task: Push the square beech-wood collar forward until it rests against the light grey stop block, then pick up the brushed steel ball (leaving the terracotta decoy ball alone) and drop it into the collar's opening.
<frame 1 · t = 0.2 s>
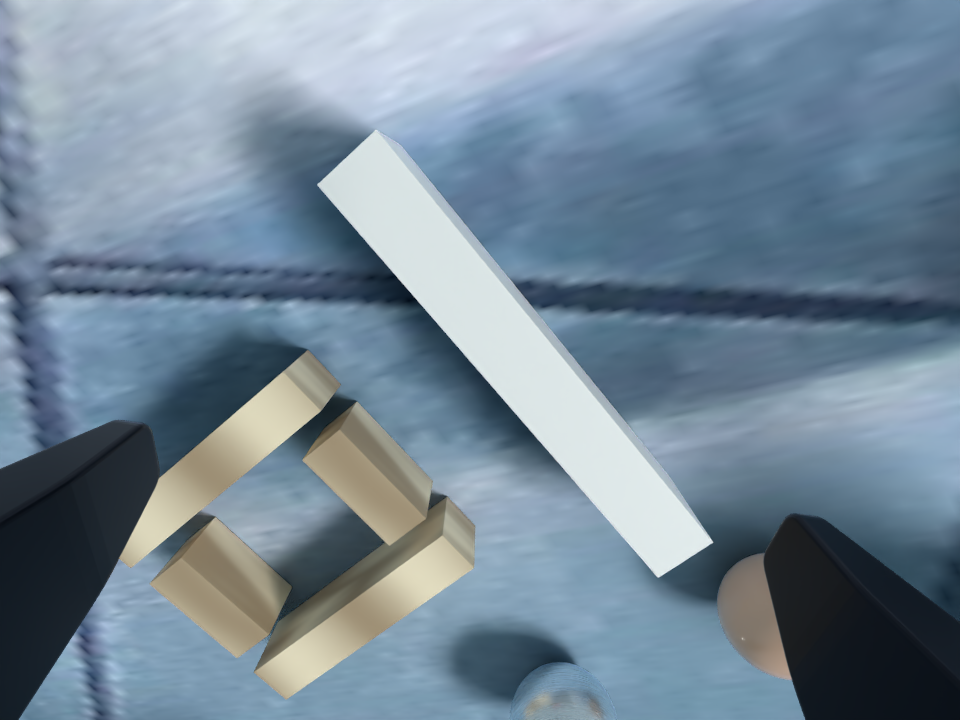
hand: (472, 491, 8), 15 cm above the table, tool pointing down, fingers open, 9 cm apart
beech collar: (307, 511, 25), on the table
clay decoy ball: (779, 613, 24), point 2 cm above the table
stop block: (523, 342, 23), on the table
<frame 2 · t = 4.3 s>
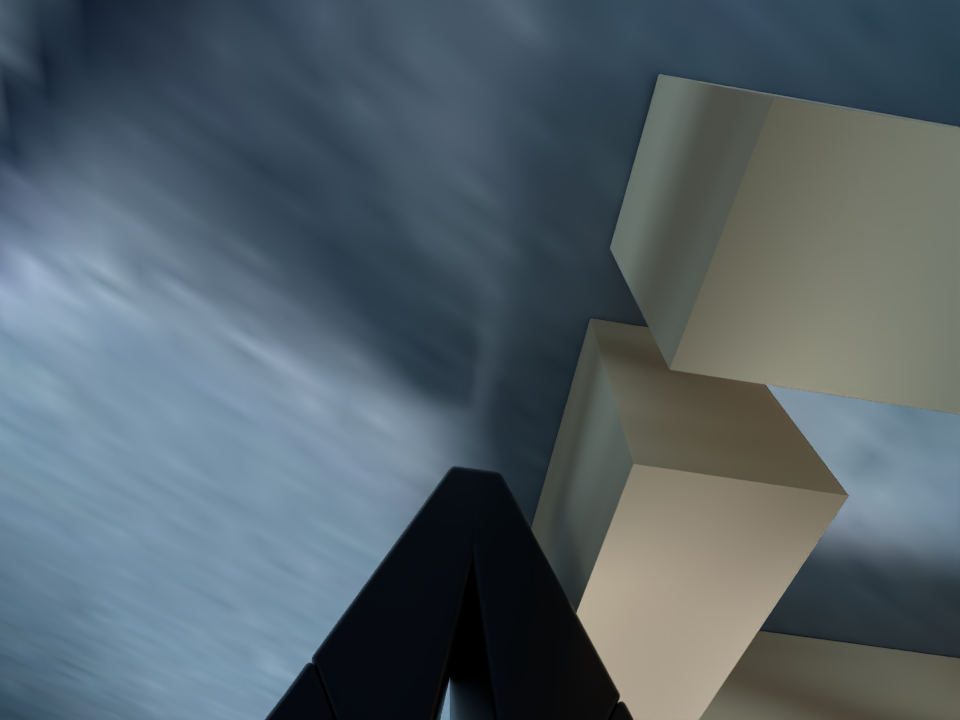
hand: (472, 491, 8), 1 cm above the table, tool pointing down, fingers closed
beech collar: (881, 506, 9), on the table, touching gripper
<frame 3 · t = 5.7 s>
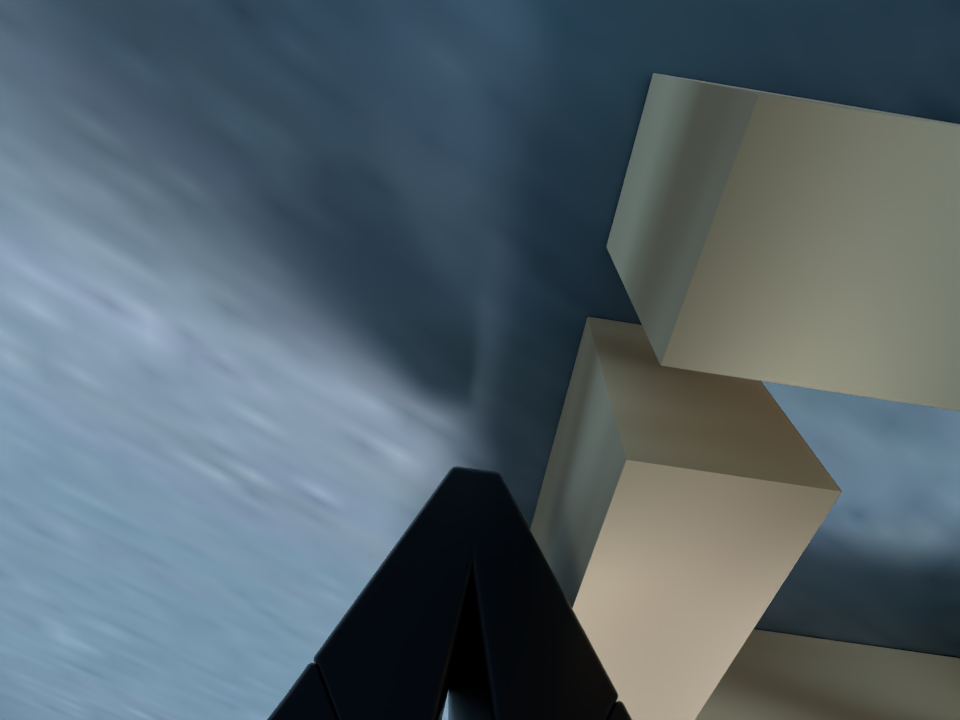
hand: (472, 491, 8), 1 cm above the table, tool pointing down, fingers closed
beech collar: (882, 505, 9), on the table, touching gripper
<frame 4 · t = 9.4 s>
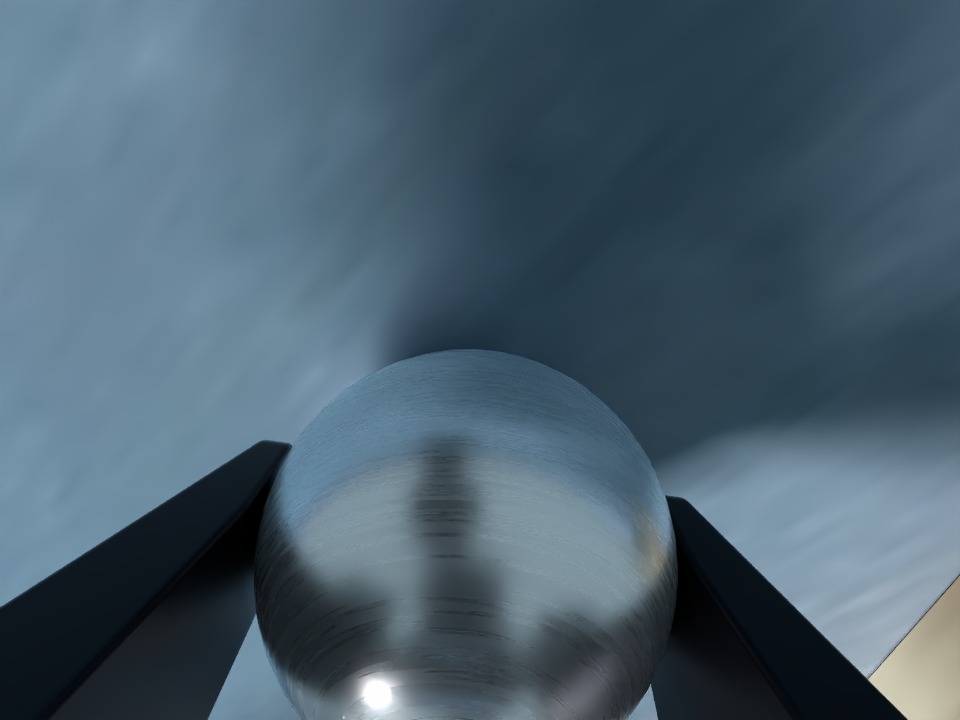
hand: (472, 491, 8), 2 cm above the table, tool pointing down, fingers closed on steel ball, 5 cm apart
steel ball: (467, 546, 7), point 2 cm above the table, touching gripper
when the fingers open (4 cm above the table, at t = 13.6 s): steel ball drops 3 cm, point 2 cm above the table.
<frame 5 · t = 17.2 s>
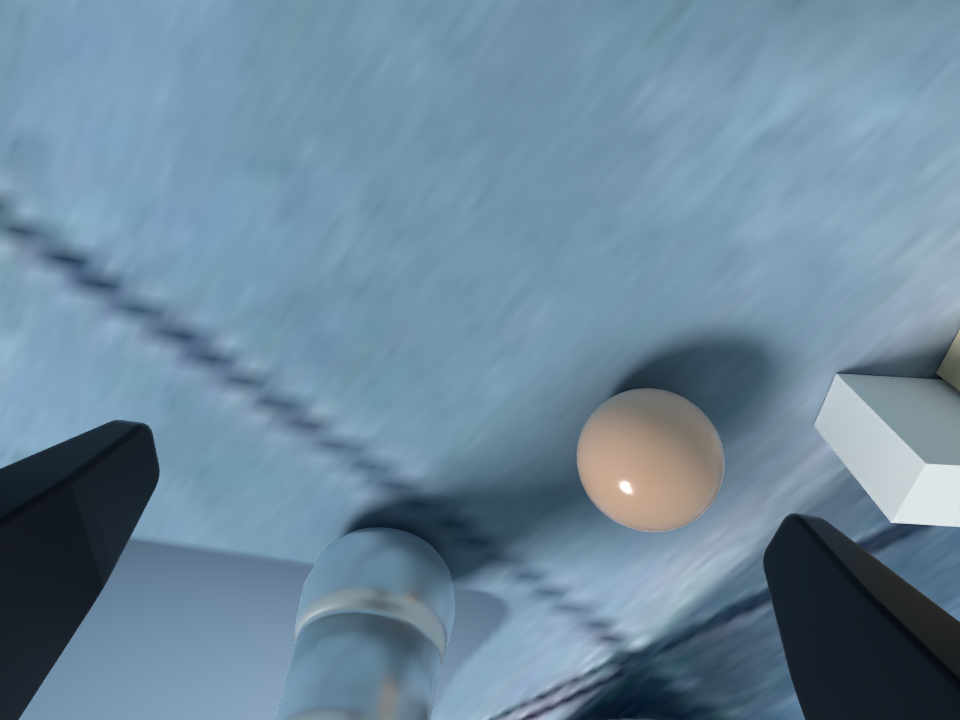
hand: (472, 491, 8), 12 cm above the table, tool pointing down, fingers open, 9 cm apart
plastic bottle: (390, 553, 26), on the table
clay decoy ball: (648, 458, 19), point 2 cm above the table
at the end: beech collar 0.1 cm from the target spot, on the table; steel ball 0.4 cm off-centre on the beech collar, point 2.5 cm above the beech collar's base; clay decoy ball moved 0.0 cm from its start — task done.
